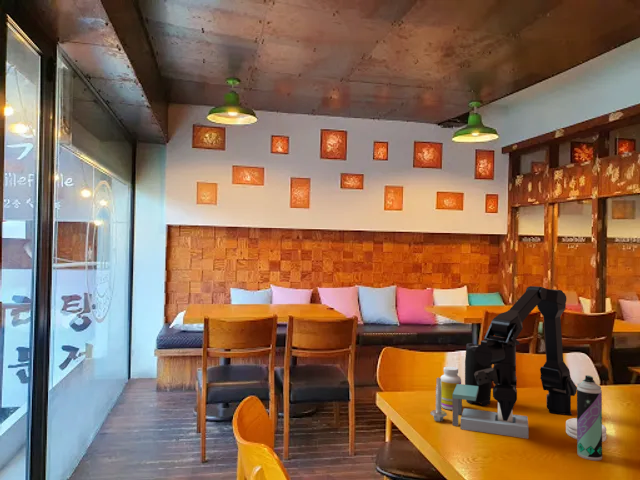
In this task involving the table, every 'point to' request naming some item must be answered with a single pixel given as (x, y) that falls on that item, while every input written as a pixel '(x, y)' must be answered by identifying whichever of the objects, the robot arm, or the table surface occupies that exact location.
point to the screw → (438, 403)
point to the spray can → (589, 419)
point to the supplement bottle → (449, 386)
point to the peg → (501, 415)
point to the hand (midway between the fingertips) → (505, 415)
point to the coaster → (572, 429)
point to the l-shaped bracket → (462, 393)
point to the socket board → (494, 423)
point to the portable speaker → (470, 370)
